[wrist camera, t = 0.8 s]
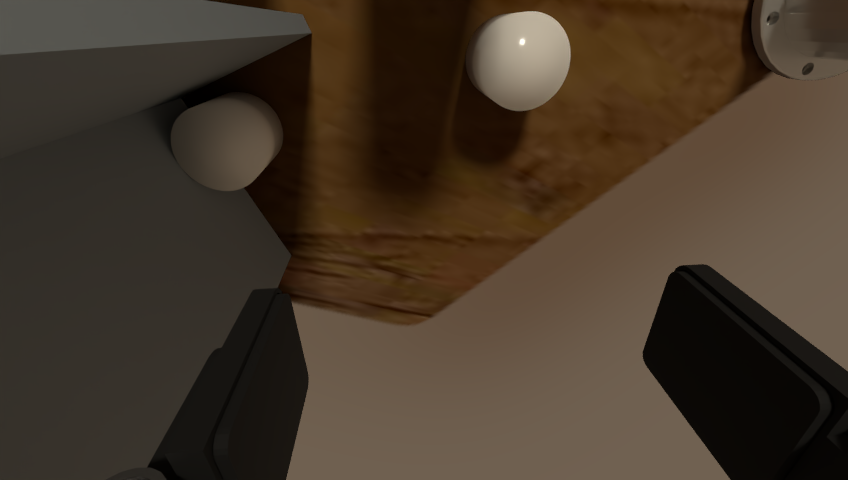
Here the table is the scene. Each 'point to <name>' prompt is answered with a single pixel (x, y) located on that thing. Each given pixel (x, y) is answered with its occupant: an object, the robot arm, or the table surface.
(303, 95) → the table surface
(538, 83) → the cream smooth rounded cylinder
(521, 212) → the table surface
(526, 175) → the table surface
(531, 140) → the table surface
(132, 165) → the counter
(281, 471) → the robot arm
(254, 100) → the cream rounded knob
